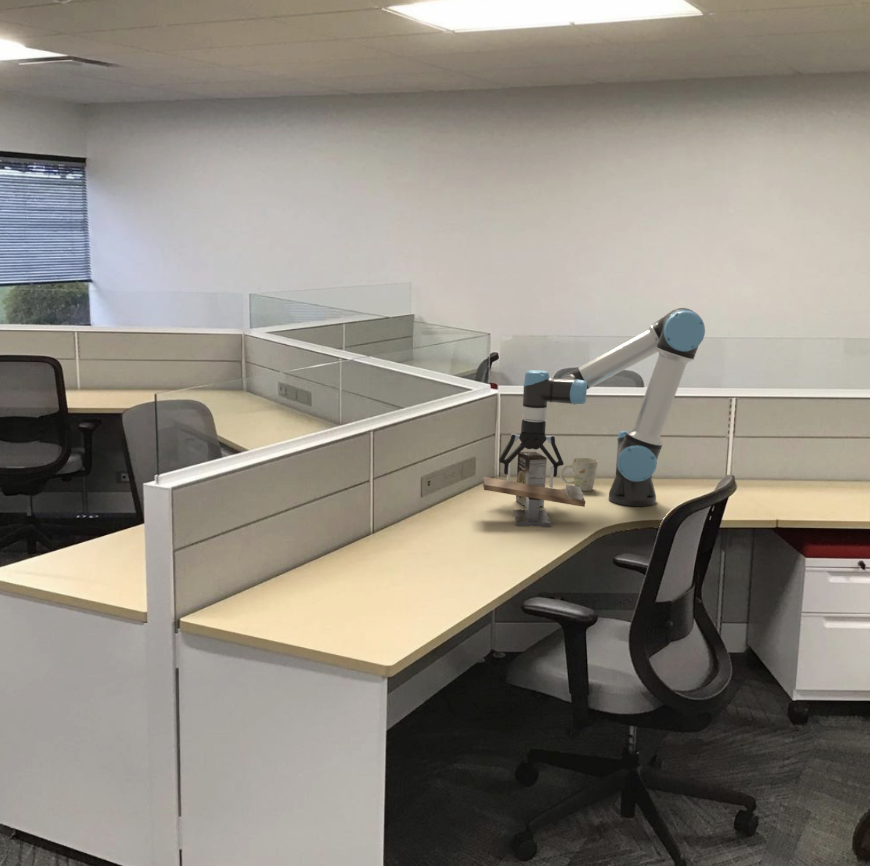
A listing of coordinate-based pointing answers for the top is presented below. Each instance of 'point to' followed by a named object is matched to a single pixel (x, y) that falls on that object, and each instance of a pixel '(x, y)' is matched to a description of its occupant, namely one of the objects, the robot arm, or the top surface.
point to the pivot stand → (531, 515)
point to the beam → (536, 491)
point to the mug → (582, 473)
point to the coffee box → (531, 472)
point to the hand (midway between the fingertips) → (529, 485)
